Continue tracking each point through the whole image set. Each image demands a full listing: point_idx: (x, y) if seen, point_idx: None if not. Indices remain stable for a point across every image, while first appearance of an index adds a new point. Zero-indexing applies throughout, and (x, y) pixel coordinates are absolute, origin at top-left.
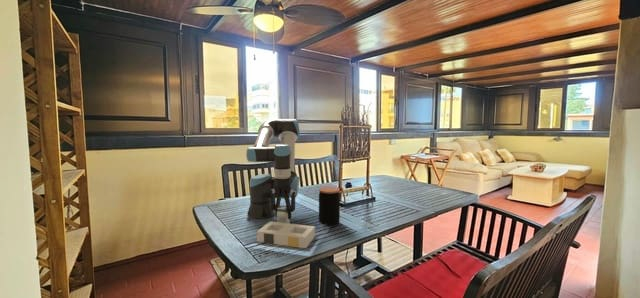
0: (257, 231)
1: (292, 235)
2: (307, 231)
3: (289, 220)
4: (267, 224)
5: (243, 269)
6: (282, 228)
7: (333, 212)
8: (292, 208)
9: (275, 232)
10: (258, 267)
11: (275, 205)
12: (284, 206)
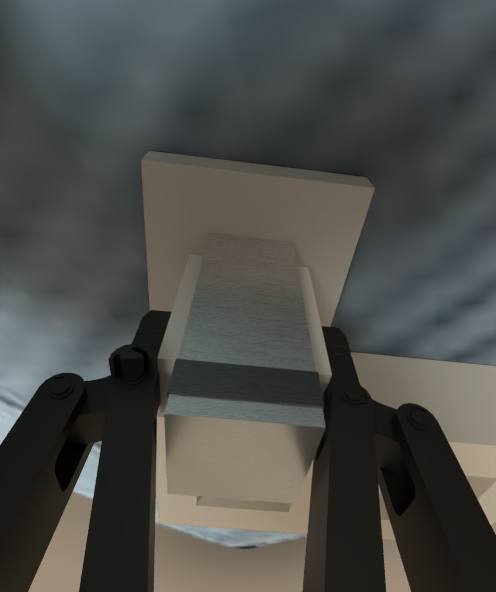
0: (161, 521)
1: (388, 539)
2: (490, 506)
3: (312, 296)
4: (165, 459)
5: (220, 541)
6: (306, 491)
7: None
8: (408, 498)
9: (277, 525)
10: (263, 534)
11: (68, 428)
12: (256, 455)
